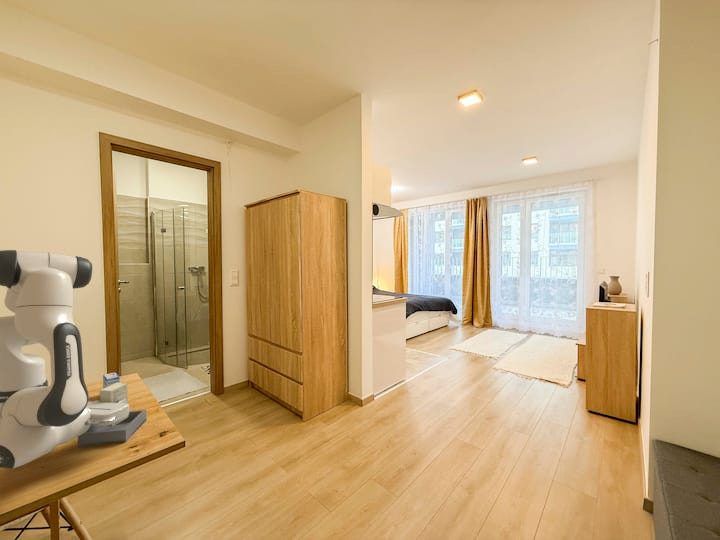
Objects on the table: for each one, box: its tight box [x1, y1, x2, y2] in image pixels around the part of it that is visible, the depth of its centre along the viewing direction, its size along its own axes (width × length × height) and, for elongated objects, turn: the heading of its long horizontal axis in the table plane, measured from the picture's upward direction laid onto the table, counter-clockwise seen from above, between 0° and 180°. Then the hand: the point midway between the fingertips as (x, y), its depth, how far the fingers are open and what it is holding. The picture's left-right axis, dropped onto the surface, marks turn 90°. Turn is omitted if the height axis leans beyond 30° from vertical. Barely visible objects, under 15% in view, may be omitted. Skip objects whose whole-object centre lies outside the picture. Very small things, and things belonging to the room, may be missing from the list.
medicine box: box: [102, 372, 121, 389], centre depth 126 cm, size 8×4×9 cm, turn 50°
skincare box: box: [99, 382, 129, 427], centre depth 98 cm, size 6×4×12 cm
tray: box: [77, 409, 147, 448], centre depth 98 cm, size 13×13×4 cm
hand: (116, 400), depth 99 cm, fingers closed on skincare box, 4 cm apart
